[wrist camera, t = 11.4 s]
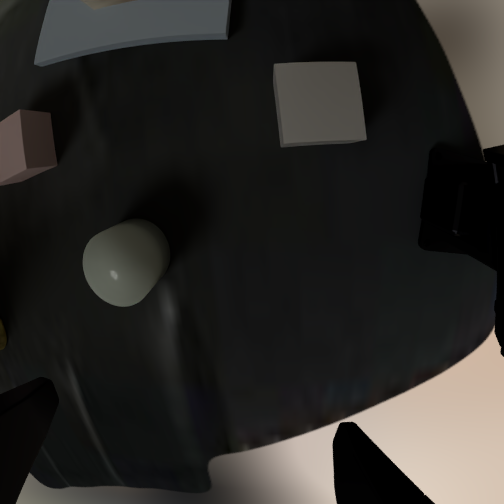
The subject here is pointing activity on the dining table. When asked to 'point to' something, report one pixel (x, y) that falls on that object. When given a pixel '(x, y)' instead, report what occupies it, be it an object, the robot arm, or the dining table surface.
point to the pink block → (26, 146)
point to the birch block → (103, 3)
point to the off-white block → (318, 103)
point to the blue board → (127, 26)
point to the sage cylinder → (126, 261)
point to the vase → (2, 336)
